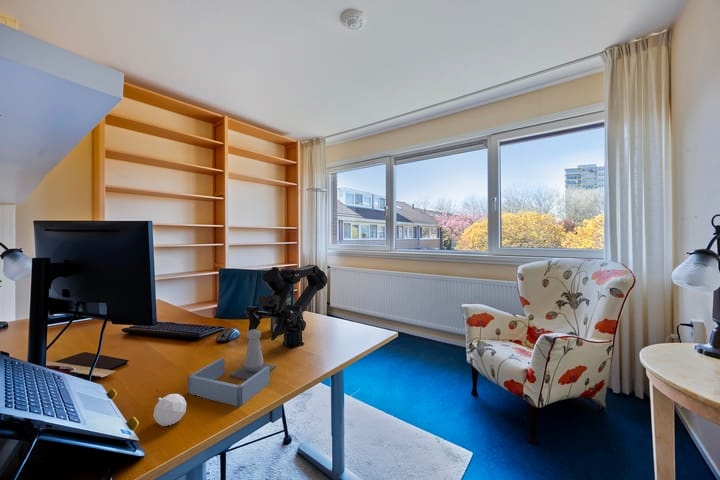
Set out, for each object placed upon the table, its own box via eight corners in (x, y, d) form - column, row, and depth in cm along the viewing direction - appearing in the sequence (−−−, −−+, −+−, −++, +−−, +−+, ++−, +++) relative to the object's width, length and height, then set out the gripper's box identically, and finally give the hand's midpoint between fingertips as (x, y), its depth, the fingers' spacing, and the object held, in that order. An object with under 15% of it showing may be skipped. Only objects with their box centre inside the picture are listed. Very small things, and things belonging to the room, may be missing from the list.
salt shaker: (243, 375, 91) (242, 334, 91) (245, 366, 97) (245, 328, 96) (262, 372, 93) (262, 332, 92) (264, 364, 98) (263, 326, 98)
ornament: (170, 434, 66) (147, 411, 64) (164, 430, 70) (142, 409, 69) (196, 407, 70) (174, 386, 69) (189, 406, 75) (169, 385, 74)
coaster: (251, 362, 101) (251, 361, 101) (275, 367, 98) (275, 365, 98) (229, 376, 92) (229, 374, 92) (256, 382, 88) (256, 380, 88)
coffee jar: (279, 326, 139) (279, 287, 138) (294, 328, 137) (293, 288, 136) (266, 333, 130) (266, 291, 129) (282, 335, 127) (282, 292, 127)
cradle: (222, 373, 94) (221, 357, 94) (269, 383, 88) (269, 366, 88) (187, 393, 82) (187, 376, 82) (239, 406, 76) (239, 388, 76)
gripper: (247, 283, 105) (224, 324, 95) (292, 287, 99) (273, 330, 89) (261, 300, 113) (242, 338, 103) (304, 304, 107) (288, 345, 97)
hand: (260, 338), depth 98 cm, fingers open, 9 cm apart
